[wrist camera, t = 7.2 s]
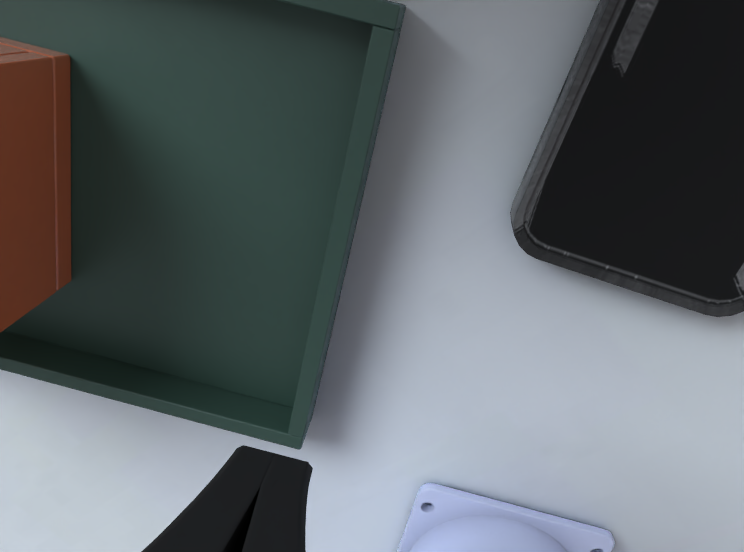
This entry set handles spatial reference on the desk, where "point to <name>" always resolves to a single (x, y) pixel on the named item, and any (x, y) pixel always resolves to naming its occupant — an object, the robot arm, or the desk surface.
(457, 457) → the desk surface
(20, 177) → the planter
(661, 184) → the phone
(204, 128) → the tray
